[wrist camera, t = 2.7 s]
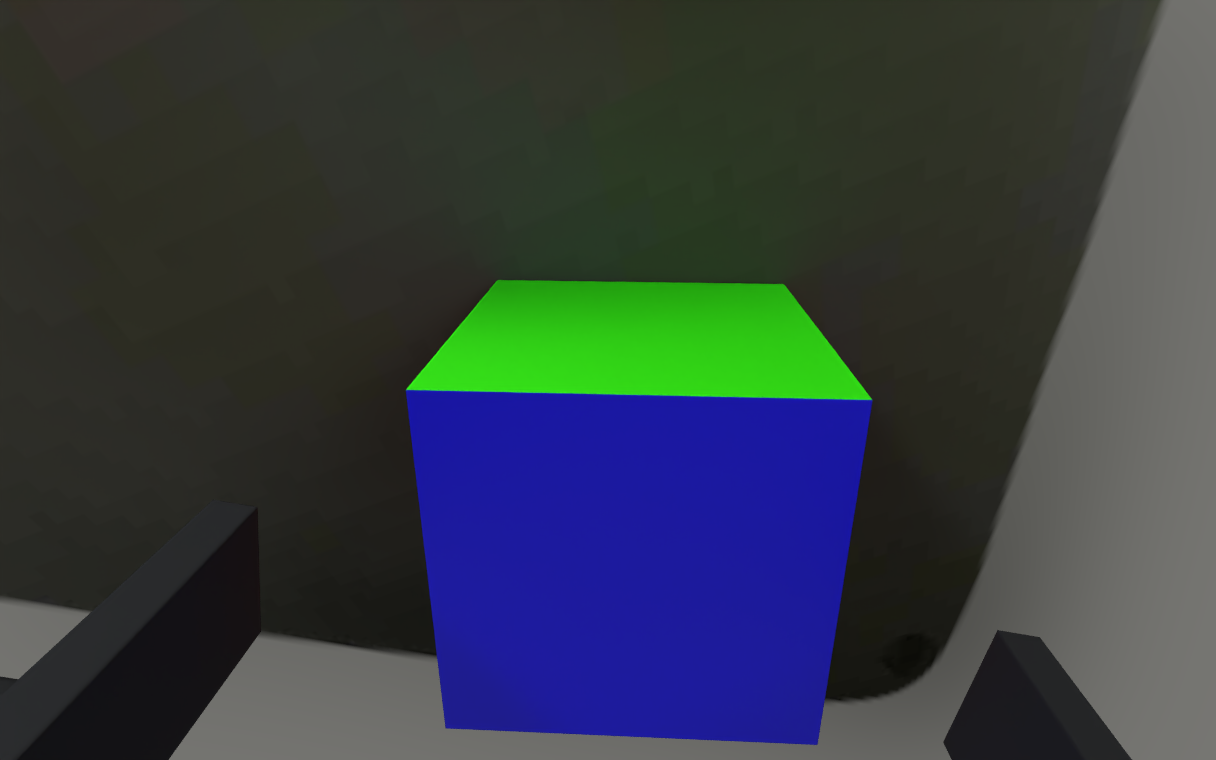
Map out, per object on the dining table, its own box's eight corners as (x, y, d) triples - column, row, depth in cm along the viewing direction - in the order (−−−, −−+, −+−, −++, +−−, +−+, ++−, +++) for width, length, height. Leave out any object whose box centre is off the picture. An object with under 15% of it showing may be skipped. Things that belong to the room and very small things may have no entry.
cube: (759, 528, 22) (817, 745, 15) (511, 521, 22) (445, 728, 15) (783, 284, 19) (872, 400, 12) (497, 280, 19) (405, 390, 12)
